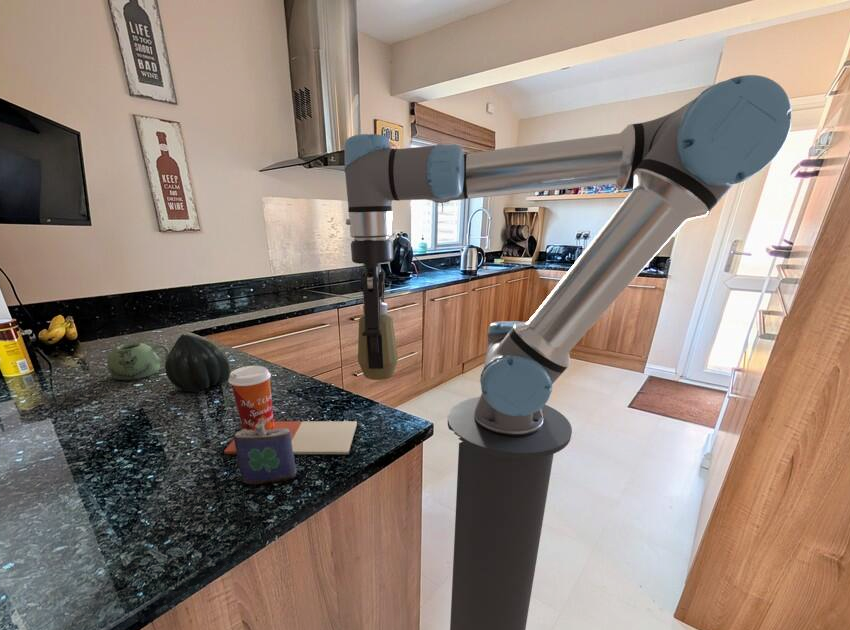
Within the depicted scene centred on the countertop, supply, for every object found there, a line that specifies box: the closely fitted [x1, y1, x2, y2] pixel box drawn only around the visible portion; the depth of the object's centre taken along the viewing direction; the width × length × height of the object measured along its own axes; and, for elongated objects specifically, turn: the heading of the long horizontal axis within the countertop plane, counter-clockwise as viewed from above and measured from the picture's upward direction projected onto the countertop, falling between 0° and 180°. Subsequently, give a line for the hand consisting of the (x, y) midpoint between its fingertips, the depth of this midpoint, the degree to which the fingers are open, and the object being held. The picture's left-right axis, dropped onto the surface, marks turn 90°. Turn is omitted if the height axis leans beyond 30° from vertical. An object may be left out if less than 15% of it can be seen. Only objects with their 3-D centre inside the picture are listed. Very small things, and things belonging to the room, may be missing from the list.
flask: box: [233, 422, 297, 484], centre depth 66 cm, size 9×3×11 cm, turn 96°
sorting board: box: [223, 420, 358, 455], centre depth 80 cm, size 24×12×1 cm, turn 88°
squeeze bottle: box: [357, 299, 399, 381], centre depth 76 cm, size 8×8×18 cm
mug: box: [106, 342, 170, 381], centre depth 114 cm, size 16×13×9 cm
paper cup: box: [228, 365, 275, 431], centre depth 77 cm, size 8×8×14 cm
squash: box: [164, 333, 231, 393], centre depth 104 cm, size 14×15×15 cm
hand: (378, 360), depth 78 cm, fingers closed on squeeze bottle, 8 cm apart
